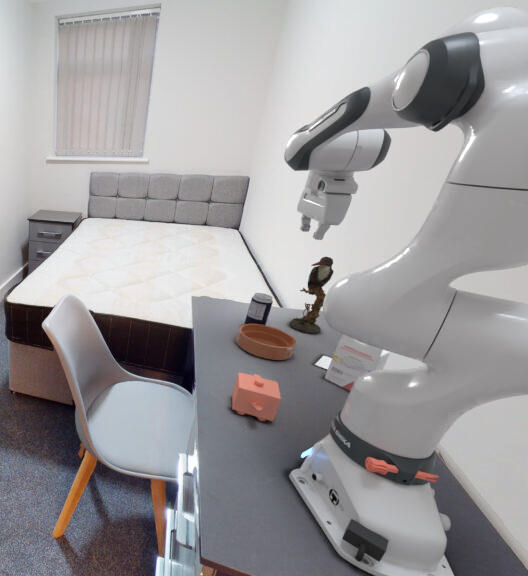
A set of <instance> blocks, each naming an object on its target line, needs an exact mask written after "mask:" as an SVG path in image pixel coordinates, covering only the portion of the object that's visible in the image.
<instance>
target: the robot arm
mask: <svg viewBox="0 0 528 576" xmlns="http://www.w3.org/2000/svg"><path fill="white" fill-rule="evenodd" d="M448 125H453V126H455V127H457V128H458V129H460V131H461V132H462V134H463V142H462V145H461V148H460V150H459V152H458V154H457V156H456V158H455V159H454V162H453V163H452V165H451V167H450V169H449V170H448V173H447V175H446V178H445V180H444V181H443V183H442V186H441V189H440V191H439V192H438V195H437V196H436V199H435V201H434V203H433V205H432V207H431V209H430V211H429V212H428V215H426V217H425V220H424V221H423V223H422V225H421V227H420V228H419V230H418V231H417V233H416V235H415V236H414V237H413V238H412V239H411V241H409V243H407V245H406V246H405V247H403V249H401V250H400V251H399V252H397V253H396V254H395V255H393V256H392V257H391V258H389V259H387V260H386V261H384V262H382V263H379V264H378V265H376V266H372V267H370V268H368V269H365V270H362V271H358V272H354V273H351V274H349V275H346V276H343V277H342V278H341V279H338V280H337V281H336V282H335V283H333V285H332V286H331V287H330V288H329V289H328V291H327V293H325V294H326V296H325V298H324V302H323V306H322V314H323V318H324V320H325V321H326V323H327V325H328V326H329V328H331V329H332V330H335V331H336V332H337V333H340V334H342V335H343V334H344V335H346V336H348V337H351V338H353V339H355V340H357V341H359V342H361V343H364V344H367V345H370V346H374V347H377V348H380V349H383V350H386V351H389V352H390V353H393V354H397V355H399V356H403V357H406V358H409V359H412V360H416V361H419V362H421V363H422V364H423V365H421V366H417V367H413V368H407V369H394V368H393V369H391V368H387V369H386V368H385V369H384V368H383V370H376V371H371V372H368V373H365V374H363V375H361V376H360V377H359V378H357V380H356V381H355V382H354V384H353V387H352V389H351V391H349V393H348V396H347V397H346V400H345V402H344V404H343V407H342V408H341V409H339V410H338V411H337V412H336V415H335V416H334V417H333V418H332V420H331V424H330V427H329V433H328V434H327V435H326V436H324V437H323V438H321V439H320V440H319V441H317V442H316V443H315V444H314V445H313V446H312V447H310V448H309V449H307V450H305V451H303V452H302V453H301V455H300V458H302V459H303V458H305V457H306V458H305V459H304V461H303V463H302V464H301V466H300V467H299V468H295V469H293V470H291V471H290V473H289V474H288V477H289V480H290V482H292V484H293V486H294V487H295V489H296V491H297V492H298V494H299V495H300V497H301V499H302V500H303V501H304V503H305V504H306V506H307V508H308V510H309V511H310V512H311V514H312V516H313V517H314V519H315V520H316V522H317V524H318V525H319V527H321V530H322V531H323V533H324V535H326V538H327V540H328V541H329V542H330V544H331V545H332V547H333V549H334V550H335V551H336V552H337V554H338V555H339V556H340V557H341V558H342V559H344V560H345V561H347V562H348V563H350V564H352V565H353V566H355V567H357V568H359V569H360V570H362V571H364V572H366V573H368V574H371V575H372V576H455V574H454V572H453V570H452V568H451V566H450V563H449V562H448V559H447V557H446V555H445V552H446V549H447V543H448V538H447V535H446V532H448V531H450V529H451V526H452V525H451V524H452V523H451V519H450V517H449V516H448V515H446V514H444V513H441V512H439V510H438V506H437V501H436V498H435V495H436V493H435V489H434V488H433V487H431V483H430V482H433V483H437V480H436V479H440V475H437V474H433V473H434V468H435V466H436V449H437V447H438V445H439V443H440V442H441V440H442V439H443V438H444V436H445V435H446V433H447V432H448V431H449V430H450V428H451V427H452V426H453V425H454V424H455V423H456V421H458V419H459V418H461V417H462V416H463V415H464V414H466V413H467V412H470V411H472V410H473V409H475V408H477V407H479V406H481V405H484V404H487V403H490V402H491V403H492V402H494V401H498V400H503V399H507V398H512V397H521V396H528V303H524V302H519V301H515V300H509V299H504V298H499V297H495V296H490V295H485V294H480V293H477V292H476V293H475V292H470V291H466V290H461V289H457V288H455V287H453V286H450V285H451V283H453V282H454V281H456V280H457V279H459V278H462V277H464V276H467V275H472V274H476V273H484V272H493V271H495V272H496V271H502V270H510V269H515V268H521V267H525V266H528V10H525V9H523V8H520V7H517V6H507V5H505V6H504V5H503V6H496V7H490V8H486V9H483V10H480V11H478V12H475V13H473V14H471V15H468V16H467V17H466V18H464V19H462V20H461V21H459V22H458V23H456V24H454V25H453V26H452V27H450V28H449V29H447V30H446V31H444V32H442V34H440V35H439V36H437V37H436V38H435V39H433V40H430V41H429V42H427V43H425V44H424V45H422V46H421V48H419V49H418V50H417V51H416V52H414V53H413V55H411V56H410V57H409V59H408V60H407V61H406V63H405V64H404V65H402V66H401V67H400V68H398V69H397V70H395V71H393V72H391V73H390V74H388V75H386V76H384V77H383V78H380V79H379V80H377V81H374V82H372V83H371V84H368V85H367V86H363V87H361V88H359V89H357V90H355V91H353V92H351V93H349V94H348V95H346V96H344V97H343V98H342V99H340V100H339V101H338V102H336V103H335V104H334V105H333V106H331V107H330V108H329V109H328V110H326V111H325V112H324V113H323V114H321V115H320V116H318V117H317V118H316V119H315V120H314V121H312V122H311V123H309V124H305V125H303V126H302V127H300V128H299V129H297V130H296V131H295V132H293V134H292V135H291V136H290V138H289V140H288V141H287V143H286V146H285V148H284V149H285V150H284V153H283V157H284V158H283V159H284V161H285V163H286V164H287V165H288V166H289V167H290V168H291V169H292V170H293V171H294V172H299V171H300V172H303V171H305V172H306V171H308V174H307V175H308V176H307V179H306V182H305V184H304V188H303V190H302V192H301V195H300V197H299V200H298V203H297V208H296V211H297V213H300V214H302V215H301V217H300V218H301V221H300V222H301V225H300V227H299V229H300V231H301V232H304V233H308V232H310V230H311V223H312V222H311V221H312V220H314V221H316V222H318V224H317V228H316V230H315V231H313V235H312V238H313V239H314V240H316V241H322V240H323V239H324V237H325V234H326V233H327V232H328V231H329V229H330V228H331V226H340V225H341V224H342V222H343V221H344V219H345V218H346V215H347V213H348V211H349V208H350V206H351V203H352V200H353V196H352V195H356V194H357V192H358V190H359V185H358V183H357V182H356V181H355V177H354V174H355V172H356V173H357V172H358V173H359V172H360V173H361V172H366V171H370V170H372V169H374V168H376V167H377V166H379V165H380V164H381V163H383V162H384V161H385V159H386V157H387V155H388V153H389V150H390V147H391V144H392V138H391V136H390V134H389V132H388V131H387V130H388V129H389V130H391V129H409V128H417V127H422V126H423V127H424V128H426V129H427V130H429V131H430V132H435V133H437V132H440V131H441V130H443V129H444V128H445V127H447V126H448ZM386 129H387V130H386Z"/></svg>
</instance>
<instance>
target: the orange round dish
mask: <svg viewBox="0 0 528 576" xmlns="http://www.w3.org/2000/svg"><path fill="white" fill-rule="evenodd" d="M235 342H236V344H237V345H238V347H240V348H241V349H242V350H244V351H246V352H247V353H249V354H251V355H254V356H256V357H259V358H262V359H266V360H267V359H268V360H274V361H284V360H289V359H290V358H292V357H293V354H294V351H295V348H296V345H297V340H296V338H295V337H294V336H293V335H291V334H290V333H288V332H286V331H284V330H282V329H279V328H276V327H274V326H270V325H267V324H266V325H261V324H244V323H243V324H242V325H240V326H239V328H238V332H237V335H236V339H235Z"/></svg>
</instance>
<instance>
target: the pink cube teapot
mask: <svg viewBox="0 0 528 576" xmlns="http://www.w3.org/2000/svg"><path fill="white" fill-rule="evenodd" d="M231 394H232V396H231V399H232V400H231V402H232V403H231V404H232V406H231V407H232V408H231V409H232V410H233V411H236V413H237V414H238V415H241V416H244V415H250V416H254V417H256V418H257V419H258V421H261V422H266V421H271V422H274V420H275V417H276V414H277V412H278V409H279V407H280V404H281V401H282V397H281V390H280V387H279V382H278V381H275V380H271V379H267V378H263V377H261V375H260V374H257V373H256V374H255V373H253V374H252V375H251V374H248V373H243V372H240V371H238V372H237V375H236V379H235V382H234V386H233V389H232V393H231Z"/></svg>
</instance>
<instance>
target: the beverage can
mask: <svg viewBox="0 0 528 576" xmlns="http://www.w3.org/2000/svg"><path fill="white" fill-rule="evenodd" d="M273 301H274V300H273V297H272V296H271V295H270V294H268V293H267V294H266V293H263V292H255V293H254V295H252V297H251V299H250V304H249V307H248V310H247V312H246V317H245V320H244V322H243V325H244V324H261V325H266V326H267V321H268V319H269V315H270V313H271V309H272V307H273V303H274V302H273Z"/></svg>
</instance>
